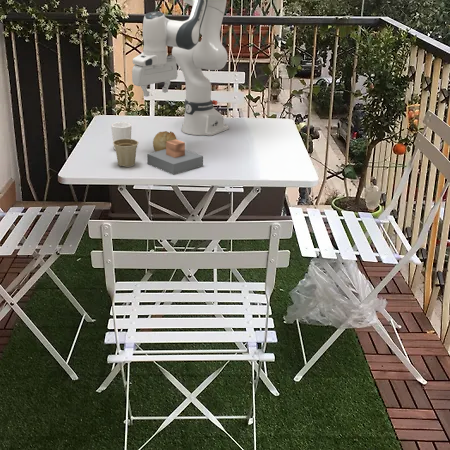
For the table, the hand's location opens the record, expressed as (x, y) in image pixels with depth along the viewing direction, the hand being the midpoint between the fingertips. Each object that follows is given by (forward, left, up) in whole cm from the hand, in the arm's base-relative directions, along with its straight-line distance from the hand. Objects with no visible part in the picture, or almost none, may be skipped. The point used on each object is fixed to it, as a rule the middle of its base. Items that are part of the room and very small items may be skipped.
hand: (156, 94), depth 228 cm
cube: (+5, +18, -19) cm, 26 cm away
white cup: (+9, -10, -23) cm, 27 cm away
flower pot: (+19, +6, -23) cm, 31 cm away
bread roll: (-3, +2, -23) cm, 24 cm away
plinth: (+5, +18, -23) cm, 29 cm away
